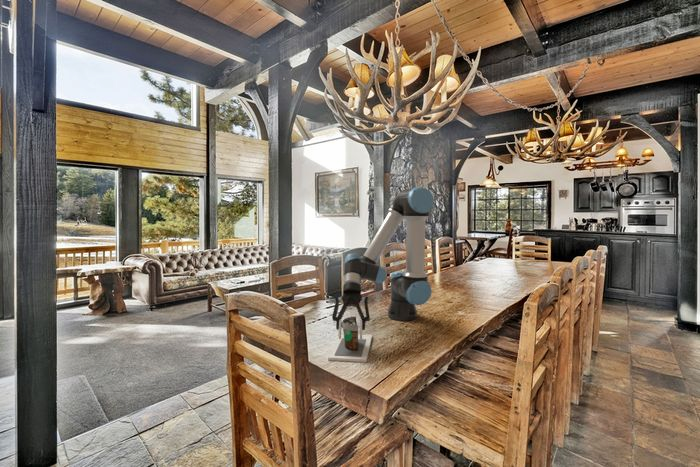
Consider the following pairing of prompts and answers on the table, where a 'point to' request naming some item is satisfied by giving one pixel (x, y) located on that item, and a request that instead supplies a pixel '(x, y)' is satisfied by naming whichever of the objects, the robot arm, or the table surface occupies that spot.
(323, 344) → the table surface
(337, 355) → the board
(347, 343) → the food container
